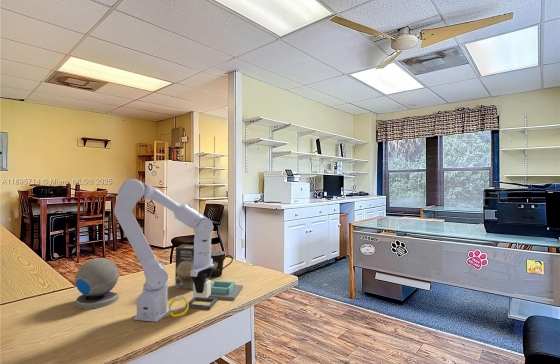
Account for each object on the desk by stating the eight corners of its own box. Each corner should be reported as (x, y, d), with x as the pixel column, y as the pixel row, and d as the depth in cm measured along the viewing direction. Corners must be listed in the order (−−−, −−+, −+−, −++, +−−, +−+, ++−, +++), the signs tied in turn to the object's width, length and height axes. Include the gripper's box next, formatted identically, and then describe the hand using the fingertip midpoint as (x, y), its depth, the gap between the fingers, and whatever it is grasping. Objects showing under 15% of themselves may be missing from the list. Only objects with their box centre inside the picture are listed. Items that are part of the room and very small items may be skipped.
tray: (210, 309, 98) (210, 306, 98) (185, 307, 100) (185, 304, 100) (217, 300, 105) (217, 297, 105) (194, 298, 107) (194, 296, 107)
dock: (234, 300, 106) (234, 291, 106) (197, 297, 108) (197, 289, 108) (243, 287, 118) (243, 280, 118) (209, 285, 120) (209, 278, 120)
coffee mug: (200, 277, 130) (201, 254, 129) (211, 271, 138) (211, 249, 138) (224, 280, 126) (225, 256, 126) (233, 273, 134) (233, 252, 134)
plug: (207, 298, 100) (207, 280, 100) (193, 297, 101) (193, 279, 101) (210, 294, 104) (211, 277, 104) (197, 293, 105) (197, 276, 104)
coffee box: (174, 288, 116) (174, 247, 116) (181, 282, 123) (181, 244, 122) (196, 289, 115) (197, 248, 115) (202, 283, 122) (202, 244, 122)
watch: (186, 312, 97) (188, 294, 97) (188, 316, 94) (190, 297, 95) (167, 315, 94) (169, 296, 94) (169, 319, 91) (170, 299, 92)
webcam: (126, 296, 108) (126, 255, 108) (96, 311, 96) (96, 265, 96) (98, 292, 112) (98, 252, 111) (65, 306, 99) (65, 262, 99)
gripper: (205, 257, 94) (204, 299, 95) (220, 247, 109) (220, 283, 109) (184, 256, 95) (184, 298, 96) (202, 246, 110) (202, 282, 110)
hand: (202, 290), depth 102 cm, fingers closed on plug, 3 cm apart
